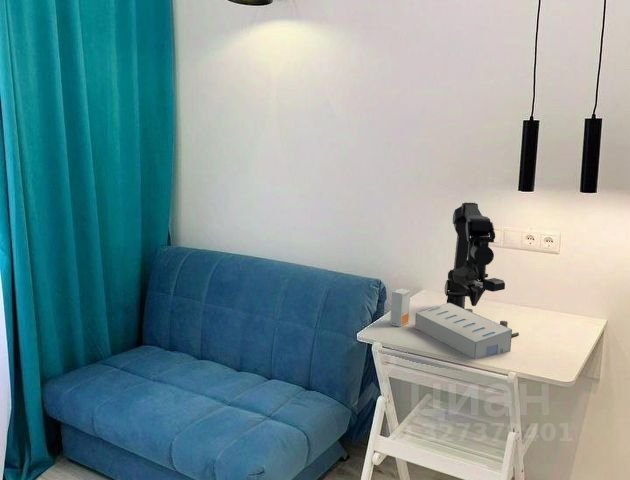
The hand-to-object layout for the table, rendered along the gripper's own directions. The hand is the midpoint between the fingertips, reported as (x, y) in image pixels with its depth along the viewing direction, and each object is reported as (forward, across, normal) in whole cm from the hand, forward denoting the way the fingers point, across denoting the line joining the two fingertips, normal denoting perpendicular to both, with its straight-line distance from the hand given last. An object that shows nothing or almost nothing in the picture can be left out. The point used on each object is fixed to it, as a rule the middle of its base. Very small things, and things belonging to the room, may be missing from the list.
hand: (473, 305), depth 190 cm
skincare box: (+13, -26, -7) cm, 30 cm away
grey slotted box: (+13, -5, 0) cm, 14 cm away
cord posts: (+13, -9, +16) cm, 22 cm away
